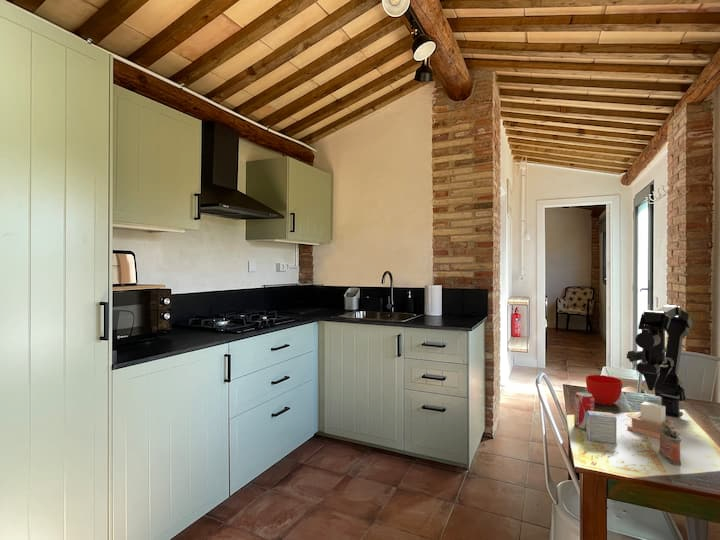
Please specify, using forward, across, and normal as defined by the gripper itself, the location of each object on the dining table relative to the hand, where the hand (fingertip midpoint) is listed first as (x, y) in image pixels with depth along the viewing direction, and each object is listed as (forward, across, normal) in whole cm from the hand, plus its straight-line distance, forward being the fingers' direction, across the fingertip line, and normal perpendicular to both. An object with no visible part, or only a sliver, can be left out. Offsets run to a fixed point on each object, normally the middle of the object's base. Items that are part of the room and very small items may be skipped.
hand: (655, 387), depth 143 cm
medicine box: (+13, +30, -6) cm, 33 cm away
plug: (+12, +9, +2) cm, 15 cm away
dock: (+13, +9, +2) cm, 16 cm away
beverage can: (+13, +24, -14) cm, 31 cm away
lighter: (+13, +28, +12) cm, 33 cm away
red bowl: (+13, -10, -22) cm, 28 cm away
